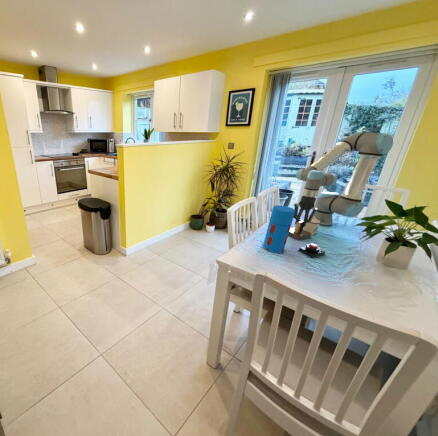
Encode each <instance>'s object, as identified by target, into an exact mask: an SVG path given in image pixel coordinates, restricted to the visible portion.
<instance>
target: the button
mask: <svg viewBox="0 0 438 436" xmlns="http://www.w3.org/2000/svg"><path fill="white" fill-rule="evenodd" d="M309 244H310V246H309V247H311V248H314V249H317V247H319V245H318V244H317V243H314V242H312V243H309Z"/></svg>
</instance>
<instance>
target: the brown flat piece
mask: <svg viewBox="0 0 438 436" xmlns="http://www.w3.org/2000/svg"><path fill="white" fill-rule="evenodd" d="M294 230H295V227H290V231H289V234H288V237H290V238H292V239H294V240H297V241H300V240H304V239H305V240H306V239H311V236H312V235H311V234H312V233H309V232H307V231H305V230H302V231H301V232H298V233H295V232H294Z"/></svg>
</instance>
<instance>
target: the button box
mask: <svg viewBox="0 0 438 436" xmlns="http://www.w3.org/2000/svg"><path fill="white" fill-rule="evenodd" d="M309 246H310V243H307V244H306V245H305V246H300V247H299V248H298V252H299V253H302V254H304V255H306V256H307V257H309V258H311V259H313V258H317V257H321V256H325V254H326V251H324V250H323V249H321V247H320V246H318V247H317V249H314V248H311V247H309Z"/></svg>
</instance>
